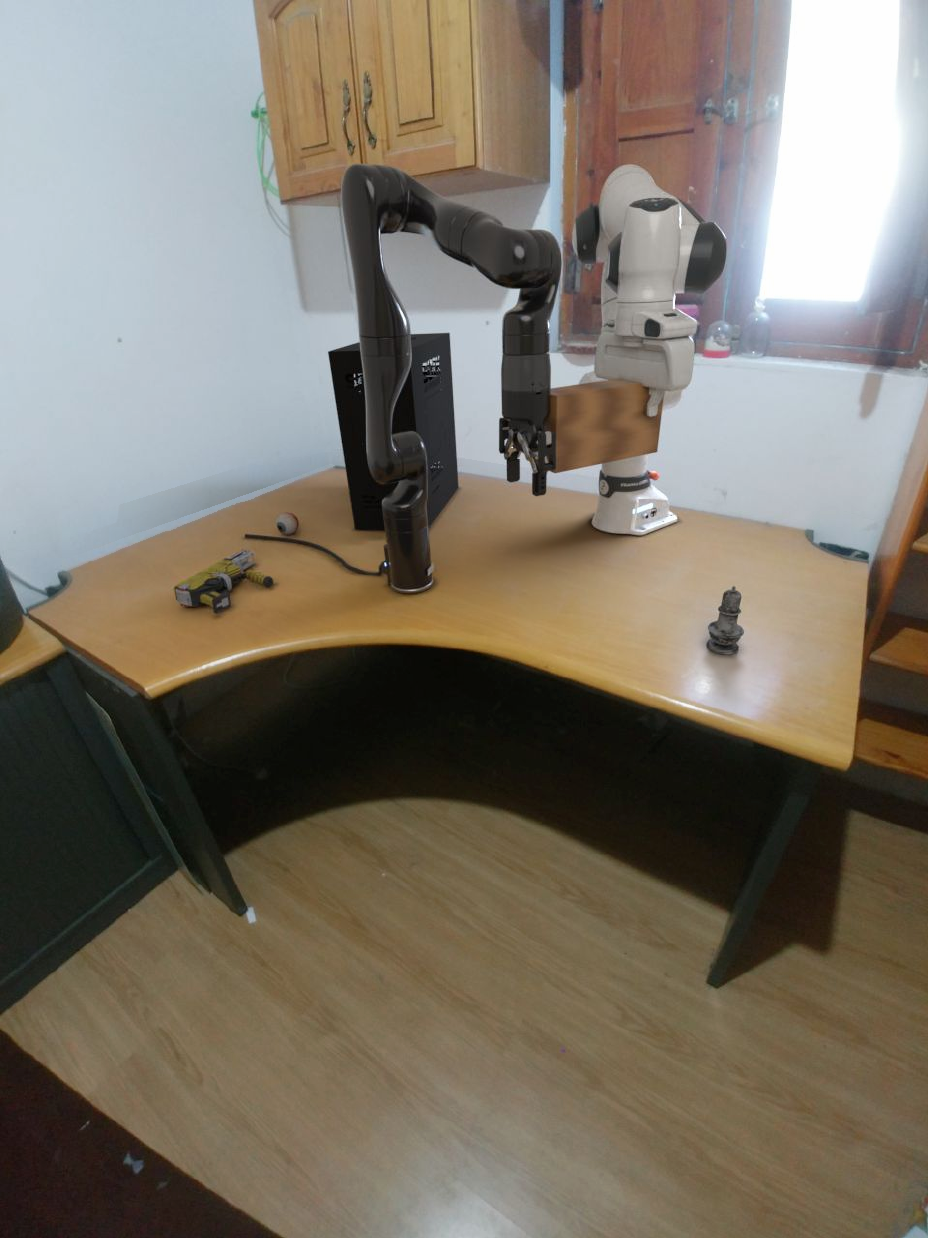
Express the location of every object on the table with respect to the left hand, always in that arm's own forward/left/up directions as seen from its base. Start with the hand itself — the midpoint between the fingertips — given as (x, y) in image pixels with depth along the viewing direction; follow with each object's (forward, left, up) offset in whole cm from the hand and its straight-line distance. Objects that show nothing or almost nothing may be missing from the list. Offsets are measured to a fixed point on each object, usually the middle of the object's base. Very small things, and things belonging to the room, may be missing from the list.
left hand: (525, 487), depth 100 cm
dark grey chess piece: (+32, +14, -28) cm, 45 cm away
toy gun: (-66, -16, -28) cm, 74 cm away
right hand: (+11, +18, +10) cm, 23 cm away
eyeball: (-82, +12, -28) cm, 87 cm away
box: (+7, +12, +3) cm, 14 cm away
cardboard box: (-65, +45, -28) cm, 84 cm away
